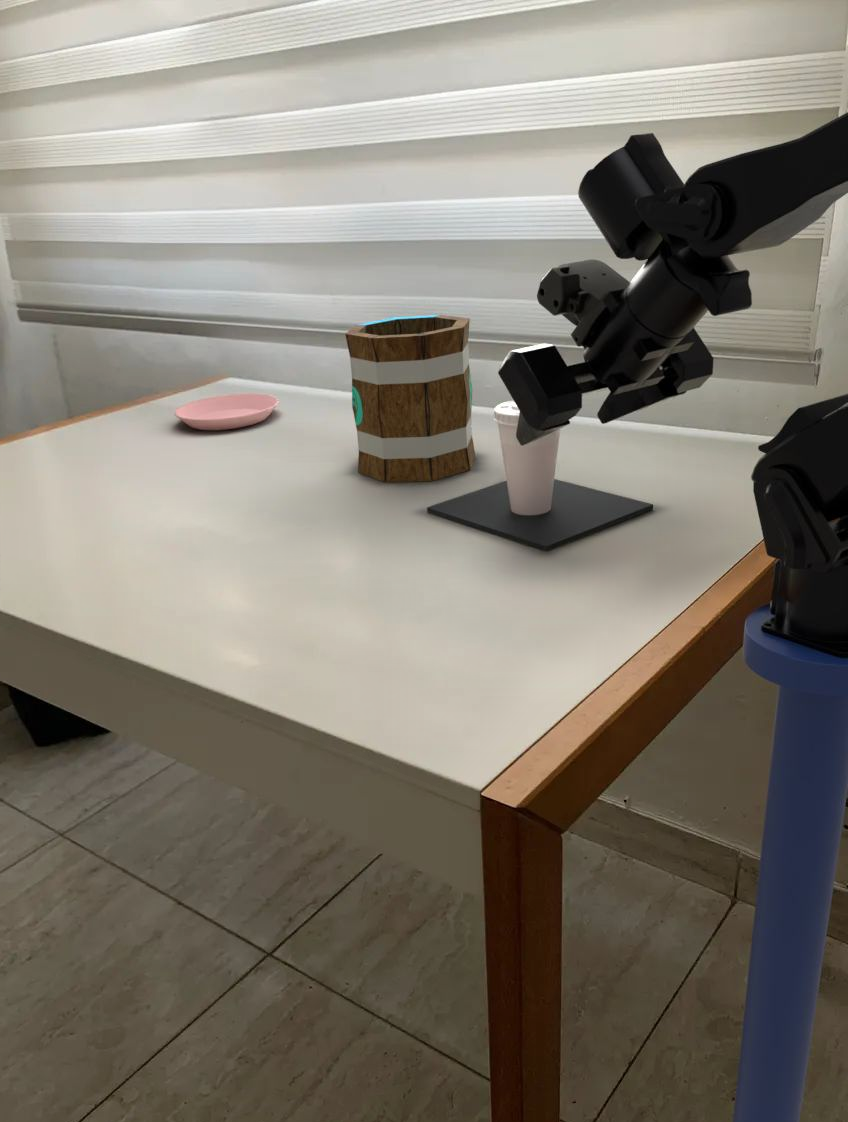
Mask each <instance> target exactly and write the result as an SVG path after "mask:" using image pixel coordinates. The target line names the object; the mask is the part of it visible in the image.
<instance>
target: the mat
mask: <svg viewBox="0 0 848 1122" xmlns="http://www.w3.org/2000/svg"><path fill="white" fill-rule="evenodd" d="M653 509H654V504H653V503H649V502H645V501H641V500H637V499H634V498H631V497H626V496H622V495H618V494H614V493H611V492H608V491H607V492H606V491H603V490H599V489H595V488H591V487H587V486H583V485H580V484H575V483H571V482H567V481H565V480H560V479H555V478H554V485H553V494H552V502H551V509H550V510H549V511H548V512H546V513H543V514H539V515H519V514H516V513H513V512H512V511H511V506H510V499H509V493H508V486H507V480H504V481H501V482H498V483H495V484H492V485H489V486H486V487H484V488H480V489H477V490H474V491H472V492H468V493H465V494H462V495H460V496H456V497H454V498H450V499H447V500H444V501H442V502H438V503H436V504H433V505H429V506H427V507H426V512H427V513H428V514H433V515H435V516H438V517H441V518H443V519H447V520H451V521H453V522H456V523H459V524H462V525H465V526H468V527H471V528H473V529H474V528H475V529H478V530H481V531H483V532H486V533H490V534H493V535H494V536H499V537H501V538H503V539H507V540H510V541H513V542H517V543H520V544H523V545H526V546H529V547H531V548H534V549H538V550H541V551H544V552H549V551H551V550H554V549H556V548H558V547H562V546H564V545H567V544H569V543H572V542H574V541H577V540H579V539H581V538H584V537H586V536H589V535H591V534H595V533H596V532H599V531H602V530H605V529H607V528H609V527H611V526H614V525H616V524H620V523H622V522H624V521H627V520H629V519H632V518H634V517H637V516H639V515H642V514H645V513H647V512H650V511H652V510H653Z"/></svg>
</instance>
